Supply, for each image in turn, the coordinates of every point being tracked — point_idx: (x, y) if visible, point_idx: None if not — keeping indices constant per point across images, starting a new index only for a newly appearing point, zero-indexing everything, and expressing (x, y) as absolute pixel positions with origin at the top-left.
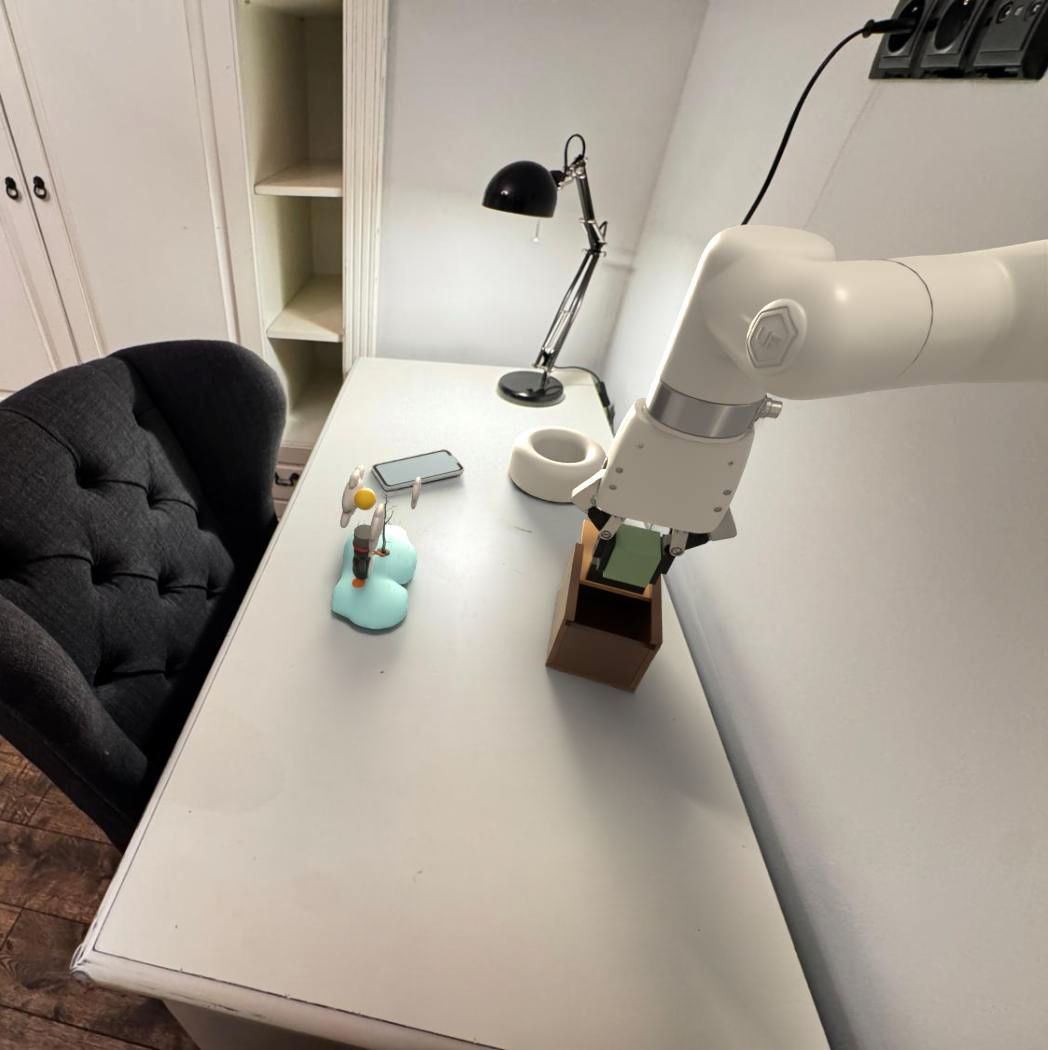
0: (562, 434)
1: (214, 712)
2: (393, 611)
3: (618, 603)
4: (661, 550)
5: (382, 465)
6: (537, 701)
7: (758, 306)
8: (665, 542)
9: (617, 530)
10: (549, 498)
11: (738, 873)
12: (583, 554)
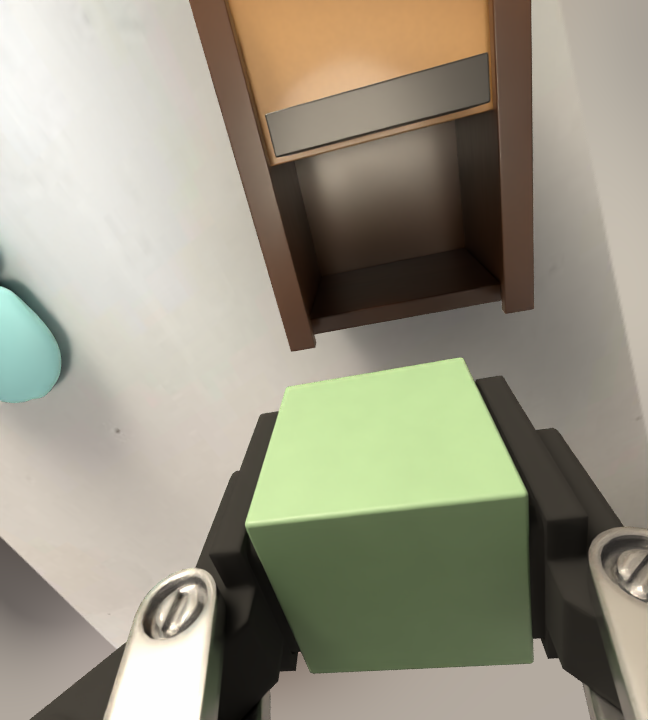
0: None
1: (30, 552)
2: (34, 363)
3: None
4: (535, 625)
5: None
6: (328, 360)
7: None
8: (562, 650)
9: (275, 588)
10: None
11: (624, 451)
12: (236, 7)
